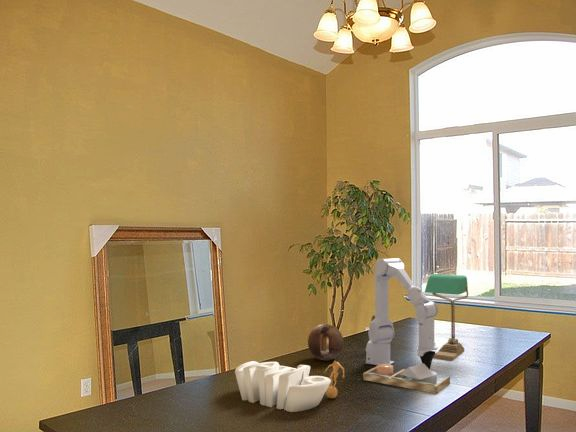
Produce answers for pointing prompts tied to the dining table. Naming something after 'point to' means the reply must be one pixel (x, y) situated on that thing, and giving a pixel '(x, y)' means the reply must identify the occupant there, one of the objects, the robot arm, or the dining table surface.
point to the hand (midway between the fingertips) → (426, 370)
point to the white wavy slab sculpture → (280, 385)
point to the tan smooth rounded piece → (385, 369)
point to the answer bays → (405, 381)
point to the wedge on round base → (421, 374)
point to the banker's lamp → (456, 287)
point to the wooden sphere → (325, 342)
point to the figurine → (331, 390)
